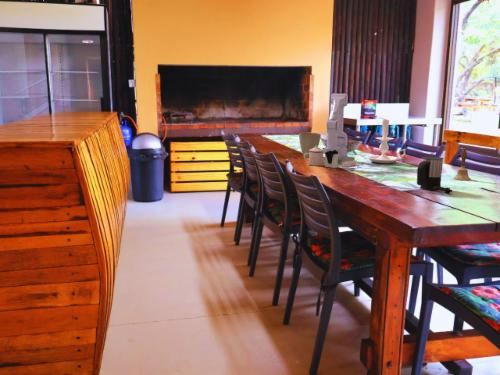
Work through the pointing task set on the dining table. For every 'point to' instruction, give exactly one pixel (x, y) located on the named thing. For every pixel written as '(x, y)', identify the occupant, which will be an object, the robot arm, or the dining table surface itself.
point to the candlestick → (385, 147)
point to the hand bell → (462, 169)
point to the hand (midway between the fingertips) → (331, 163)
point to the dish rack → (346, 161)
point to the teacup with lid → (315, 156)
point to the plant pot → (308, 142)
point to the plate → (334, 161)
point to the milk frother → (431, 174)
